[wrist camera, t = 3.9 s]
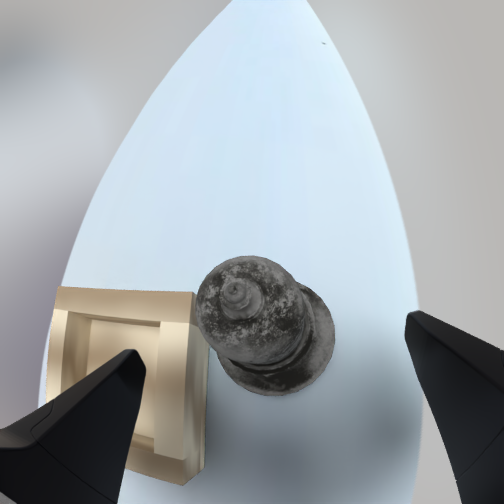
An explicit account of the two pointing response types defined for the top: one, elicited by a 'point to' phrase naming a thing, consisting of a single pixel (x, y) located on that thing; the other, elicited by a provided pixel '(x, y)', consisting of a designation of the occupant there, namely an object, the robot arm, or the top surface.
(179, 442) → the shaker caddy
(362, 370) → the top surface
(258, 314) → the weathered stone finial
